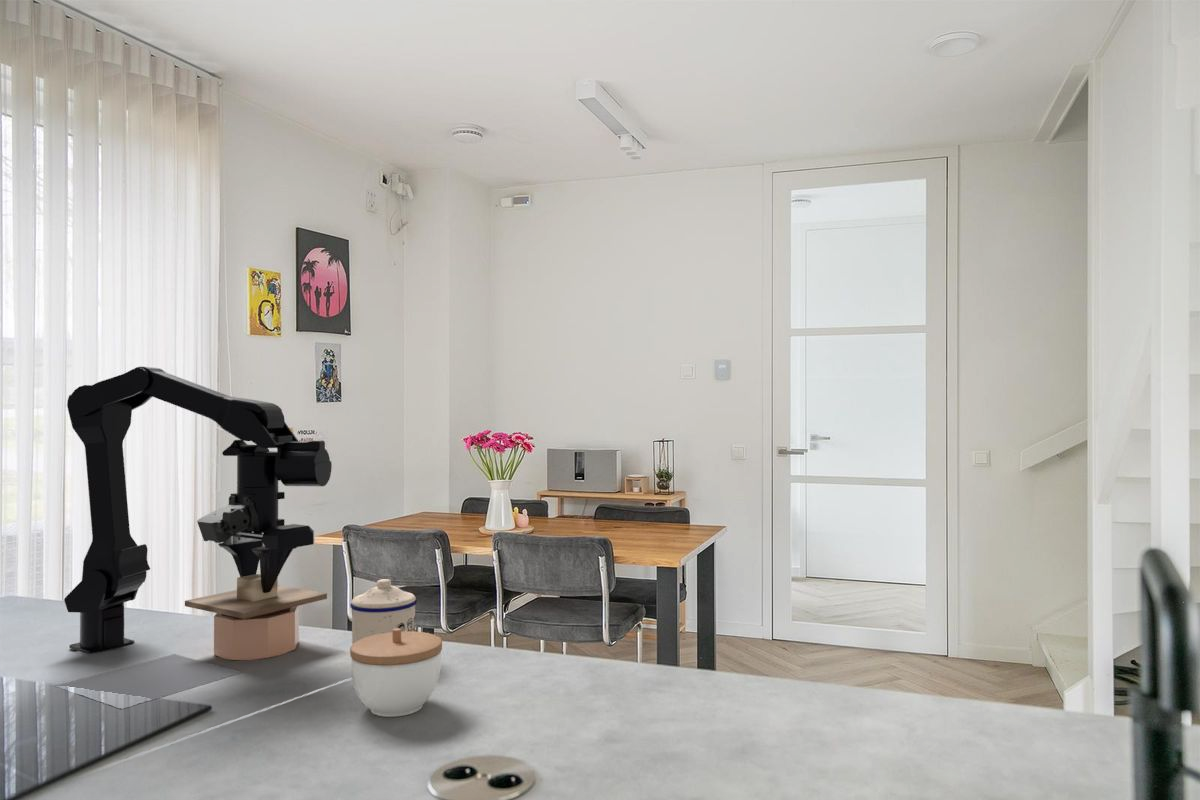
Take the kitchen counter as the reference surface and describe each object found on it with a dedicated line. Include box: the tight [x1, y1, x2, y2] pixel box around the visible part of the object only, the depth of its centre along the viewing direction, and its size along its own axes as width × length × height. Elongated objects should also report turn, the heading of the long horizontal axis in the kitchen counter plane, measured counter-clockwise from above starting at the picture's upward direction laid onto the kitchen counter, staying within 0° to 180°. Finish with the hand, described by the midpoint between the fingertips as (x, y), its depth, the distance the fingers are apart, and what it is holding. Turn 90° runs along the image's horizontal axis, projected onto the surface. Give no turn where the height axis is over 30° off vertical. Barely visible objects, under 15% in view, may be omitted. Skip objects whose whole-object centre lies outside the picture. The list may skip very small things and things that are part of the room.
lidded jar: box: [349, 628, 443, 718], centre depth 97 cm, size 11×11×9 cm
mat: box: [58, 653, 243, 700], centre depth 107 cm, size 16×16×1 cm
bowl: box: [213, 605, 300, 661], centre depth 121 cm, size 11×11×6 cm
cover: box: [184, 572, 328, 619], centre depth 121 cm, size 14×14×4 cm
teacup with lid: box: [349, 578, 418, 645], centre depth 116 cm, size 12×9×12 cm
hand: (257, 590), depth 121 cm, fingers closed on cover, 4 cm apart
